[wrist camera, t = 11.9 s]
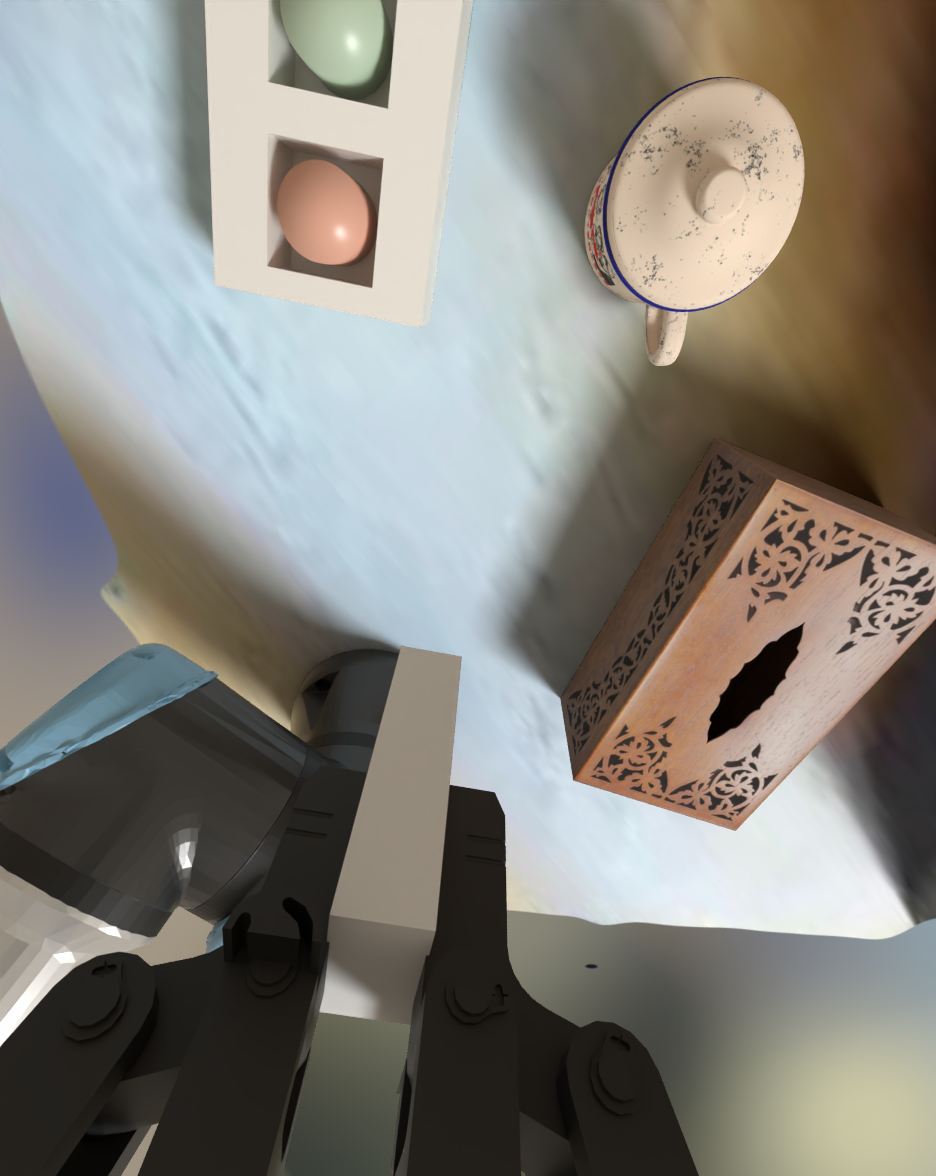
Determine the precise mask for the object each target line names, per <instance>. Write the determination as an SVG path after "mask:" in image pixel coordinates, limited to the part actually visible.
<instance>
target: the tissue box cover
mask: <svg viewBox="0 0 936 1176" xmlns="http://www.w3.org/2000/svg"><path fill="white" fill-rule="evenodd" d="M935 619H936V537H934V536H933V535H931V534H929V533H927V532H926V531H924V530H922V529H920V528H918V527H917V526H915V525H913V524H911V523H910V522H908V521H906V520H904V519H902V518H901V517H899V516H897V515H895V514H894V513H892V512H890V511H888V510H886V509H885V508H882V507H880V506H878V505H875V504H873V503H870V502H868V501H866V500H863V499H861V498H859V497H856V496H854V495H851V494H849V493H847V492H844V491H842V490H839V489H837V488H835V487H832V486H830V485H827V484H825V483H823V482H820V481H818V480H815V479H813V478H811V477H808V476H806V475H803V474H801V473H799V472H796V471H794V470H791V469H789V468H787V467H784V466H782V465H780V464H777V463H775V462H772V461H770V460H768V459H765V458H763V457H760V456H758V455H756V454H753V453H751V452H748V451H746V450H744V449H741V448H739V447H736V446H734V445H732V444H729V443H727V442H724V441H722V440H720V439H717V438H715V439H714V441H713V442H712V444H711V446H710V447H709V449H708V451H707V452H706V454H705V456H704V457H703V459H702V461H701V462H700V464H699V466H698V468H697V469H696V471H695V473H694V474H693V476H692V478H691V479H690V481H689V483H688V484H687V486H686V488H685V489H684V491H683V493H682V494H681V496H680V498H679V500H678V501H677V503H676V505H675V506H674V508H673V510H672V511H671V513H670V515H669V516H668V518H667V520H666V521H665V523H664V525H663V526H662V528H661V530H660V531H659V533H658V535H657V537H656V538H655V540H654V542H653V543H652V545H651V547H650V548H649V550H648V552H647V553H646V555H645V557H644V558H643V560H642V562H641V563H640V565H639V567H638V568H637V570H636V572H635V574H634V575H633V577H632V579H631V580H630V582H629V584H628V585H627V587H626V589H625V590H624V592H623V594H622V595H621V597H620V599H619V600H618V602H617V604H616V605H615V607H614V609H613V611H612V612H611V614H610V616H609V617H608V619H607V621H606V622H605V624H604V626H603V627H602V629H601V631H600V632H599V634H598V636H597V637H596V639H595V641H594V642H593V644H592V646H591V648H590V649H589V651H588V653H587V654H586V656H585V658H584V659H583V661H582V663H581V664H580V666H579V668H578V669H577V671H576V673H575V674H574V676H573V678H572V679H571V681H570V683H569V685H568V686H567V688H566V690H565V691H564V693H563V695H562V696H561V698H560V699H561V705H562V712H563V718H564V724H565V731H566V737H567V743H568V749H569V756H570V762H571V768H572V775H573V780H574V781H577V782H580V783H583V784H587V785H590V786H593V787H596V788H600V789H603V790H606V791H609V792H612V793H616V794H619V795H622V796H625V797H628V798H632V799H635V800H638V801H641V802H645V803H648V804H651V805H654V806H657V807H661V808H664V809H667V810H670V811H673V812H677V813H680V814H683V815H686V816H690V817H693V818H696V819H699V820H702V821H706V822H709V823H712V824H715V825H718V826H722V827H725V828H728V829H731V830H734V831H736V830H737V829H738V828H739V827H740V826H741V824H742V823H743V822H744V821H745V820H746V819H747V818H748V817H749V816H750V815H751V814H752V813H753V812H754V811H755V810H756V809H757V808H758V806H759V805H760V804H761V803H762V802H763V801H764V800H765V799H766V798H767V797H768V796H769V795H770V794H771V793H772V792H773V791H774V790H775V788H776V787H777V786H778V785H779V784H780V783H781V782H782V781H783V780H784V779H785V778H786V777H787V776H788V775H789V774H790V773H791V772H792V770H793V769H794V768H795V767H796V766H797V765H798V764H799V763H800V762H801V761H802V760H803V759H804V758H805V757H806V756H807V755H808V754H809V752H810V751H811V750H812V749H813V748H814V747H815V746H816V745H817V744H818V743H819V742H820V741H821V740H822V739H823V738H824V737H825V736H826V734H827V733H828V732H829V731H830V730H831V729H832V728H833V727H834V726H835V725H836V724H837V723H838V722H839V721H840V720H841V719H842V718H843V716H844V715H845V714H846V713H847V712H848V711H849V710H850V709H851V708H852V707H853V706H854V705H855V704H856V703H857V702H858V701H859V700H860V698H861V697H862V696H863V695H864V694H865V693H866V692H867V691H868V690H869V689H870V688H871V687H872V686H873V685H874V684H875V683H876V682H877V680H878V679H879V678H880V677H881V676H882V675H883V674H884V673H885V672H886V671H887V670H888V669H889V668H890V667H891V666H892V665H893V664H894V662H895V661H896V660H897V659H898V658H899V657H900V656H901V655H902V654H903V653H904V652H905V651H906V650H907V649H908V648H909V647H910V646H911V644H912V643H913V642H914V641H915V640H916V639H917V638H918V637H919V636H920V635H921V634H922V633H923V632H924V631H925V630H926V629H927V628H928V626H929V625H930V624H931V623H932V622H933V621H934V620H935Z"/></svg>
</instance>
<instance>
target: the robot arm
mask: <svg viewBox="0 0 936 1176" xmlns="http://www.w3.org/2000/svg"><path fill="white" fill-rule="evenodd" d="M461 659H462V657H461V656H455V655H450V654H444V653H438V652H433V651H427V650H421V649H416V648H410V647H405V646H401V649H400V653H399V655H397V654H394V653H390V652H385V651H378V650H356V651H350V652H345V653H341V654H338V655H335V656H333V657H331V658H328V659H326V660H325V661H323V662H321V663H320V664H319V665H317V666H316V667H315V668H314V669H313V670H312V671H311V672H310V673H309V674H308V675H307V677H306V678H305V680H304V682H303V684H302V686H301V688H300V690H299V692H298V694H297V696H296V698H295V701H294V704H293V708H292V713H291V732H290V731H289V730H287V729H286V728H285V727H283V726H282V725H280V724H279V723H277V722H276V721H275V720H273V719H272V718H271V717H269V716H268V715H266V714H265V713H264V712H262V711H261V710H260V709H258V708H257V707H256V706H254V705H253V704H251V703H250V702H249V701H247V700H246V699H245V698H243V697H242V696H241V695H239V694H238V693H236V692H235V691H234V690H232V689H231V688H230V687H228V686H227V685H226V684H224V683H223V682H221V681H220V680H219V679H217V678H216V677H217V676H218V675H217V674H216V673H215V672H214V671H207V670H205V669H203V668H202V667H200V666H199V665H197V664H196V663H194V662H193V661H191V660H189V659H188V658H186V657H185V656H183V655H182V654H180V653H179V652H177V651H175V650H174V649H172V648H170V647H168V646H166V645H162V644H156V643H150V644H143V645H139V646H137V647H135V648H132V649H131V650H128V651H127V652H126V653H124V654H122V655H121V656H119V657H118V658H116V659H115V660H114V661H112V662H111V663H109V664H108V665H106V666H105V667H104V668H102V669H101V670H100V671H98V672H97V673H95V674H94V675H93V676H92V677H90V678H89V679H88V680H86V681H85V682H84V683H82V684H81V685H80V686H78V687H77V688H76V689H74V690H73V691H72V692H70V693H69V694H68V695H67V696H65V697H64V698H63V699H61V700H60V701H59V702H58V703H56V704H55V705H54V706H52V707H51V708H50V709H49V710H47V711H46V712H45V713H44V714H43V715H41V716H40V717H39V718H38V719H36V720H35V721H34V722H32V723H31V724H30V725H29V726H28V727H26V728H25V729H24V730H23V731H21V732H20V733H19V734H18V735H17V736H15V737H14V738H13V739H12V740H11V741H10V742H8V744H7V745H6V746H4V747H3V748H2V749H1V750H0V1176H121V1175H122V1173H123V1171H124V1170H125V1168H126V1166H127V1165H128V1163H129V1161H130V1160H131V1158H132V1157H133V1155H134V1153H135V1152H136V1150H137V1148H138V1147H139V1145H140V1144H141V1142H142V1140H143V1139H144V1137H145V1135H146V1134H147V1132H148V1130H149V1129H150V1127H151V1125H153V1124H157V1123H159V1124H158V1126H157V1129H156V1131H155V1134H154V1136H153V1139H152V1141H151V1144H150V1146H149V1149H148V1151H147V1153H146V1156H145V1159H144V1161H143V1163H142V1166H141V1168H140V1171H139V1173H138V1176H282V1174H283V1169H284V1165H285V1161H286V1157H287V1152H288V1149H289V1144H290V1140H291V1136H292V1132H293V1127H294V1123H295V1119H296V1115H297V1111H298V1107H299V1102H300V1099H301V1094H302V1090H303V1086H304V1082H305V1078H306V1074H307V1069H308V1065H309V1061H310V1052H311V1043H312V1040H313V1036H314V1032H315V1028H316V1023H317V1019H318V1015H319V1012H326V1013H332V1014H339V1015H346V1016H353V1017H360V1018H367V1019H374V1020H382V1021H387V1022H395V1023H401V1024H409V1025H410V1024H411V1027H410V1035H409V1044H408V1052H407V1059H406V1062H405V1066H404V1069H403V1073H402V1076H401V1080H400V1083H399V1087H398V1090H397V1093H399V1094H400V1099H399V1106H398V1114H397V1122H396V1131H395V1139H394V1147H393V1155H392V1163H391V1171H390V1176H521V1171H523V1172H524V1173H525V1175H526V1176H699V1175H698V1172H697V1170H696V1167H695V1165H694V1162H693V1159H692V1157H691V1154H690V1151H689V1149H688V1146H687V1144H686V1141H685V1138H684V1136H683V1133H682V1131H681V1128H680V1125H679V1123H678V1120H677V1118H676V1115H675V1113H674V1110H673V1107H672V1105H671V1102H670V1100H669V1097H668V1094H667V1092H666V1089H665V1086H664V1084H663V1081H662V1079H661V1076H660V1073H659V1071H658V1069H657V1067H656V1066H655V1064H654V1062H653V1060H652V1058H651V1056H650V1054H649V1052H648V1051H647V1049H646V1048H645V1047H644V1046H643V1045H642V1044H641V1043H640V1042H639V1041H638V1039H637V1038H635V1036H634V1035H633V1034H632V1033H631V1032H629V1031H627V1030H626V1029H624V1028H622V1027H620V1026H618V1025H617V1024H615V1023H611V1022H601V1021H595V1022H593V1023H590V1024H589V1025H586V1026H584V1027H581V1028H580V1027H578V1026H576V1025H575V1024H573V1023H571V1022H569V1021H568V1020H566V1019H564V1018H562V1017H561V1016H558V1015H557V1014H555V1013H553V1012H552V1011H550V1010H548V1009H546V1008H545V1007H543V1006H542V1005H540V1004H539V1003H538V1002H536V1001H535V1000H533V999H532V998H531V997H530V995H529V994H528V993H527V992H526V991H525V990H524V989H523V988H522V987H521V985H520V983H519V981H518V980H517V978H516V976H515V975H514V972H513V969H512V966H511V964H510V961H509V955H508V948H507V902H506V867H505V863H506V846H505V814H504V812H503V810H502V808H501V805H500V803H499V801H498V799H497V797H496V794H495V792H489V791H483V790H477V789H471V788H465V787H459V786H453V785H450V775H451V765H452V754H453V743H454V733H455V722H456V712H457V701H458V691H459V680H460V669H461ZM178 906H180V907H182V908H184V909H186V910H187V911H189V912H191V913H193V914H194V915H197V916H198V917H200V918H202V919H204V920H205V921H207V922H209V923H211V924H212V925H214V927H213V930H212V931H211V932H210V933H209V935H208V937H207V941H206V943H207V949H206V954H203V955H200V956H197V957H194V958H189V959H184V960H179V961H174V962H169V963H164V964H159V965H154V966H150V965H149V964H147V963H146V962H145V961H144V960H143V959H142V958H141V957H139V956H138V955H135V954H129V953H125V952H127V951H130V950H132V949H135V948H138V947H140V946H143V945H146V944H148V943H151V941H152V940H153V939H154V938H155V937H156V936H157V934H158V933H159V931H160V930H161V929H162V927H163V926H164V924H165V923H166V921H167V920H168V918H169V917H170V916H171V914H172V913H173V912H174V910H175V909H176V908H177V907H178Z"/></svg>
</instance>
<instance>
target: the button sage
mask: <svg viewBox="0 0 936 1176" xmlns="http://www.w3.org/2000/svg"><path fill="white" fill-rule="evenodd" d="M280 10H281V16H282V21H283V25H284V28H285V31H286V34H287V36H288V38H289V41H290V42H291V44H292V46H293V48H294V49H295V51H296V52H297V53H298V55H299V56H300V57H301V58H302V60H303V61H304V62H305V63H306V64H307V65H308V67H309V68H310V69H311V70H312V71H313V73H314V74H315V75H316V76H317V77H318V79H319V80H320V81H321V82H322V83H323V84H324V86H325V87H326V88H327V89H329V90H330V91H331V92H332V93H334V94H335V95H337V96H339V97H341V98H345V99H350V100H358V99H363V98H365V97H368V96H369V95H371V94H373V93H374V92H375V91H376V90H377V89H378V88H379V87H380V86H381V85H382V83H383V82H384V80H385V78H386V76H387V74H388V71H389V69H390V65H391V61H392V55H393V37H392V30H391V26H390V22H389V20H388V17H387V14H386V12H385V9H384V7H383V4H382V2H381V0H280Z"/></svg>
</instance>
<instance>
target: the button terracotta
mask: <svg viewBox="0 0 936 1176" xmlns="http://www.w3.org/2000/svg"><path fill="white" fill-rule="evenodd" d="M277 212H278V218H279V222H280V226H281V228H282V231H283V233H284V235H285V237H286V239H287V240H288V242H289V243H290V244H291V246H292V247H293V248H294V249H295V250H296V251H297V252H298V253H299V254H301V255H302V256H303V257H305V258H307V259H309V260H311V261H313V262H317V263H322V264H329V265H335V266H351V265H354V264H356V263H358V262H360V261H361V260H363V259H364V258H365V257H366V256H367V255H368V253H369V252H370V251H371V249H372V247H373V245H374V242H375V239H376V235H377V215H376V211H375V207H374V205H373V202H372V200H371V198H370V196H369V195H368V193H367V192H366V190H365V189H364V188H363V187H362V186H361V185H360V184H359V183H358V182H356V181H355V180H354V179H353V178H351V177H350V176H349V175H347V174H346V173H345V172H344V171H342V170H341V169H340V168H338V167H337V166H335V165H334V164H332V163H329V162H327V161H323V160H317V159H316V160H307V161H303V162H301V163H299V164H297V165H295V166H294V167H293V168H292V169H291V170H290V171H289V172H288V173H287V174H286V176H285V177H284V179H283V181H282V183H281V185H280V189H279V192H278V198H277Z"/></svg>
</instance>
